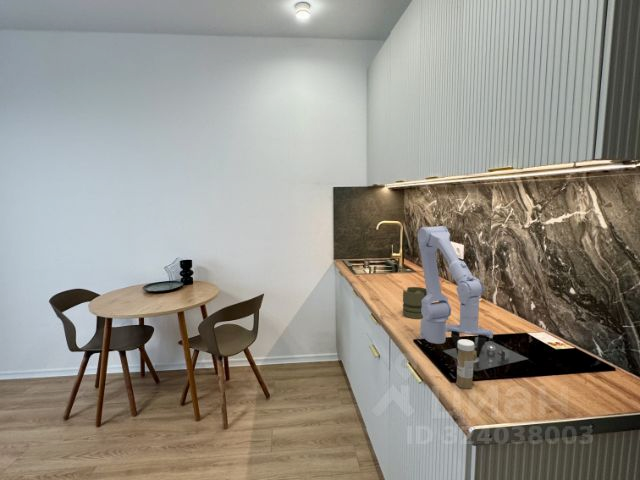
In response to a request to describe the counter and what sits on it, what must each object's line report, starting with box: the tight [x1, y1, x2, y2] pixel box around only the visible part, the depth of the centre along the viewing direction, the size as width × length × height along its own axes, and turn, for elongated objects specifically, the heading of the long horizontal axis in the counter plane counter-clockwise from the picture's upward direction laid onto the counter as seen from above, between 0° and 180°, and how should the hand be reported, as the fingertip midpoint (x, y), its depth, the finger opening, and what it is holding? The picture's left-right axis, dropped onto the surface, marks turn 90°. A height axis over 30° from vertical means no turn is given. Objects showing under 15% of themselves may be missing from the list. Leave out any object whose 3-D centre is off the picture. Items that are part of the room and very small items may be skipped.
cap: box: [473, 345, 477, 360], centre depth 123 cm, size 9×6×4 cm, turn 154°
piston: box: [402, 286, 427, 320], centre depth 169 cm, size 11×12×11 cm
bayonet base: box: [442, 336, 529, 372], centre depth 125 cm, size 16×22×4 cm
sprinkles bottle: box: [456, 338, 475, 389], centre depth 107 cm, size 5×5×14 cm
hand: (467, 354), depth 123 cm, fingers closed on cap, 5 cm apart
